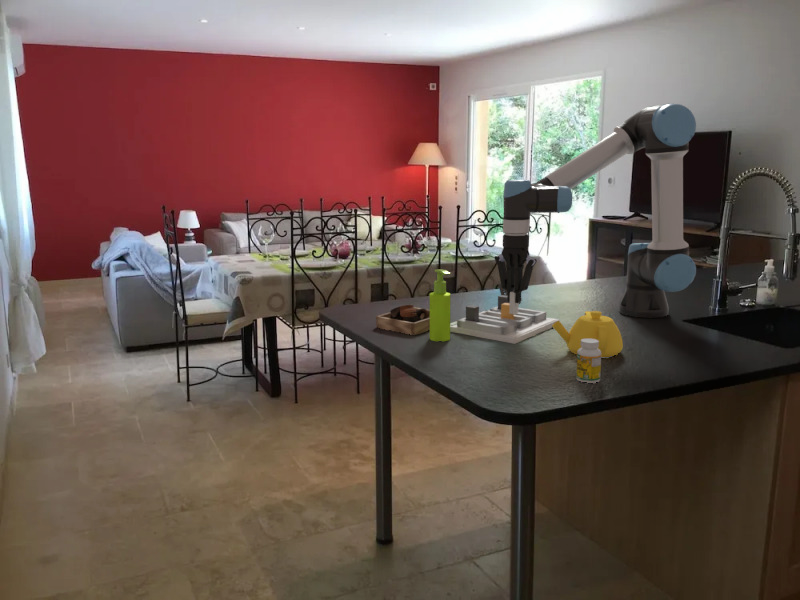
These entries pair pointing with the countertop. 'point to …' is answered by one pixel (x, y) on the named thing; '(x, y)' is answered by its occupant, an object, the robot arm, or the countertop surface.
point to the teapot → (592, 333)
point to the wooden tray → (403, 324)
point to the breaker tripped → (506, 311)
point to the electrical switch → (503, 290)
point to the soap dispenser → (440, 309)
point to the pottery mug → (408, 313)
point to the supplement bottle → (589, 361)
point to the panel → (505, 338)
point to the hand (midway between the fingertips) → (513, 313)
